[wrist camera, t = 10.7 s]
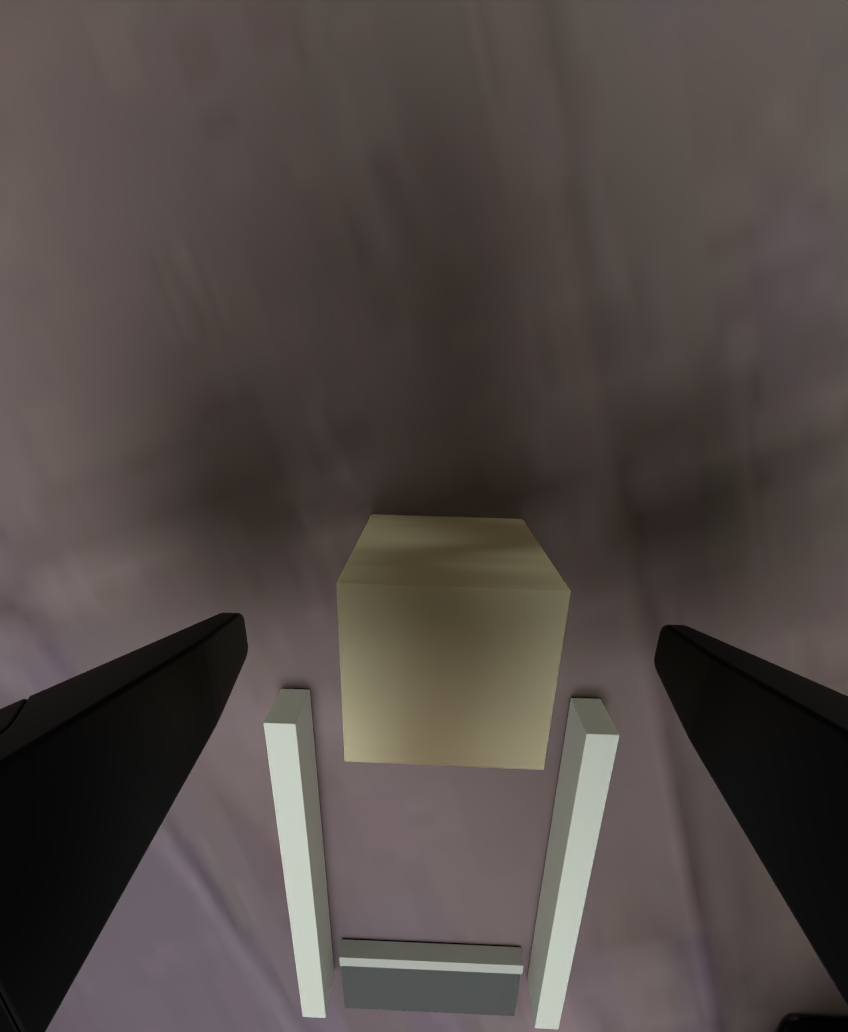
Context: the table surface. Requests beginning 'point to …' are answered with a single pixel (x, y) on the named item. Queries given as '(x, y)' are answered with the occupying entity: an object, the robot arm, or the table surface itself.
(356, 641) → the maple block
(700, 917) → the table surface
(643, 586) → the table surface
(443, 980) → the pad
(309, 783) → the guide rails
